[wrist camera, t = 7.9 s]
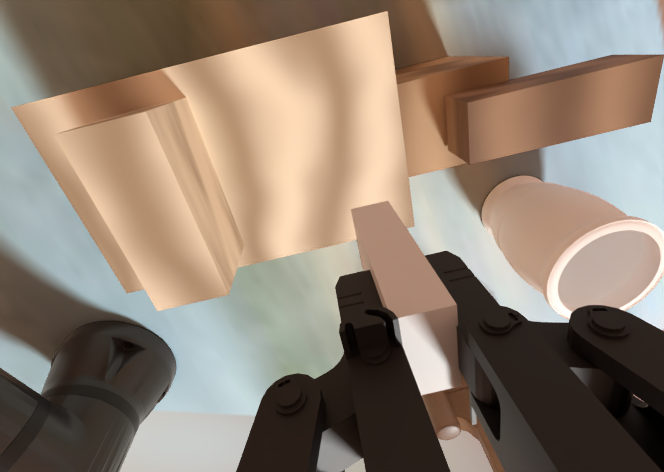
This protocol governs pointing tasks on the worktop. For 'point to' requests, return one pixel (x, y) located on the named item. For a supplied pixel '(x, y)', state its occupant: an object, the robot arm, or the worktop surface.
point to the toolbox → (438, 104)
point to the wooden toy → (457, 418)
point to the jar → (573, 244)
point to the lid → (230, 157)
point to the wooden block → (552, 107)
